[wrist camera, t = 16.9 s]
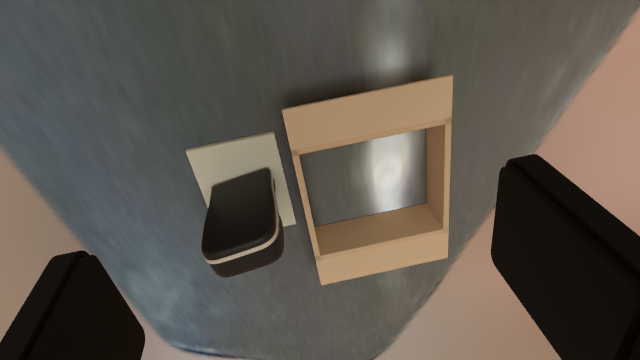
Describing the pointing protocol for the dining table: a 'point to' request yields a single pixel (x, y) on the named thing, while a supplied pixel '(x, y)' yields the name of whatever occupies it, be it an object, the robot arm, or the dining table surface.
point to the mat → (241, 166)
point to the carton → (393, 226)
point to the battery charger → (243, 225)
